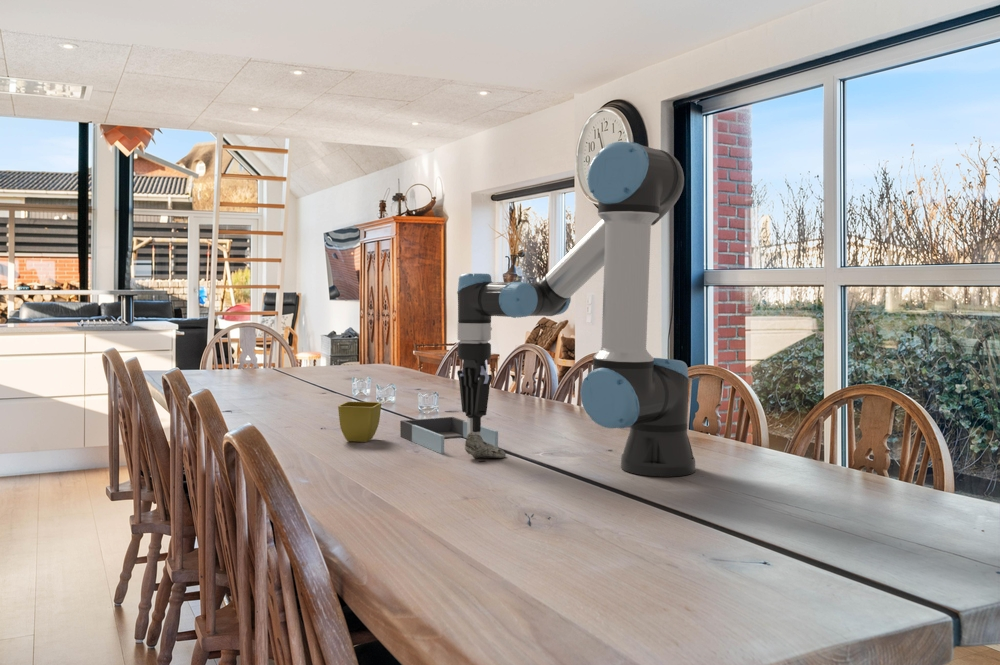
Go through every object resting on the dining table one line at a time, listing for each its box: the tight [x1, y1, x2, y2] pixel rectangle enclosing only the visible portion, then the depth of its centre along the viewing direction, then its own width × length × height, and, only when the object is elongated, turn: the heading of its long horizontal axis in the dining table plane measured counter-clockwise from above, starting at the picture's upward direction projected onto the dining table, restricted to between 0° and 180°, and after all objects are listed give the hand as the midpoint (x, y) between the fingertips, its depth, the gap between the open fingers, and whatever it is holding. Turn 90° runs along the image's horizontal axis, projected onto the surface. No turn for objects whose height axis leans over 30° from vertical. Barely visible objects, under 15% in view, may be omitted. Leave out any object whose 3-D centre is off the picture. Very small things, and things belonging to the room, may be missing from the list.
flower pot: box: [337, 400, 383, 443], centre depth 201 cm, size 9×9×9 cm
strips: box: [411, 420, 499, 455], centre depth 196 cm, size 17×15×4 cm
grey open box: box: [399, 416, 466, 442], centre depth 207 cm, size 8×15×4 cm, turn 119°
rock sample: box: [463, 433, 507, 459], centre depth 182 cm, size 10×8×9 cm
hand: (473, 445), depth 187 cm, fingers closed
